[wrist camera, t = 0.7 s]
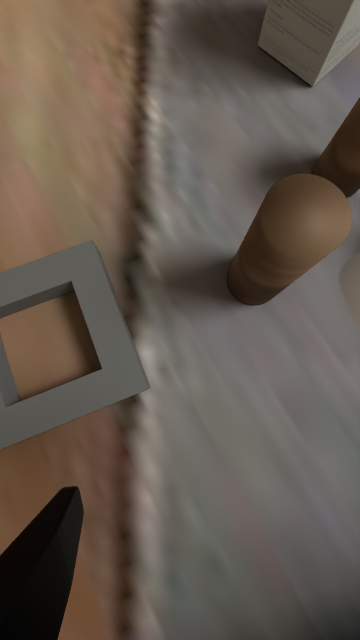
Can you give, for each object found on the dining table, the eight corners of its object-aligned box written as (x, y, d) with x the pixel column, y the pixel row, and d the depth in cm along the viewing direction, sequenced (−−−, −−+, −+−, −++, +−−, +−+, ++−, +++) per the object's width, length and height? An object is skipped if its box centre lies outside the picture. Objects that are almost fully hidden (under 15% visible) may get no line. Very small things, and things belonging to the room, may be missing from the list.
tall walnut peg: (288, 293, 24) (368, 237, 14) (239, 313, 23) (286, 268, 14) (265, 247, 25) (326, 162, 15) (218, 265, 24) (247, 190, 14)
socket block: (150, 387, 22) (147, 388, 20) (-4, 450, 21) (-22, 458, 19) (99, 251, 24) (92, 240, 22) (-44, 302, 23) (-64, 295, 21)
